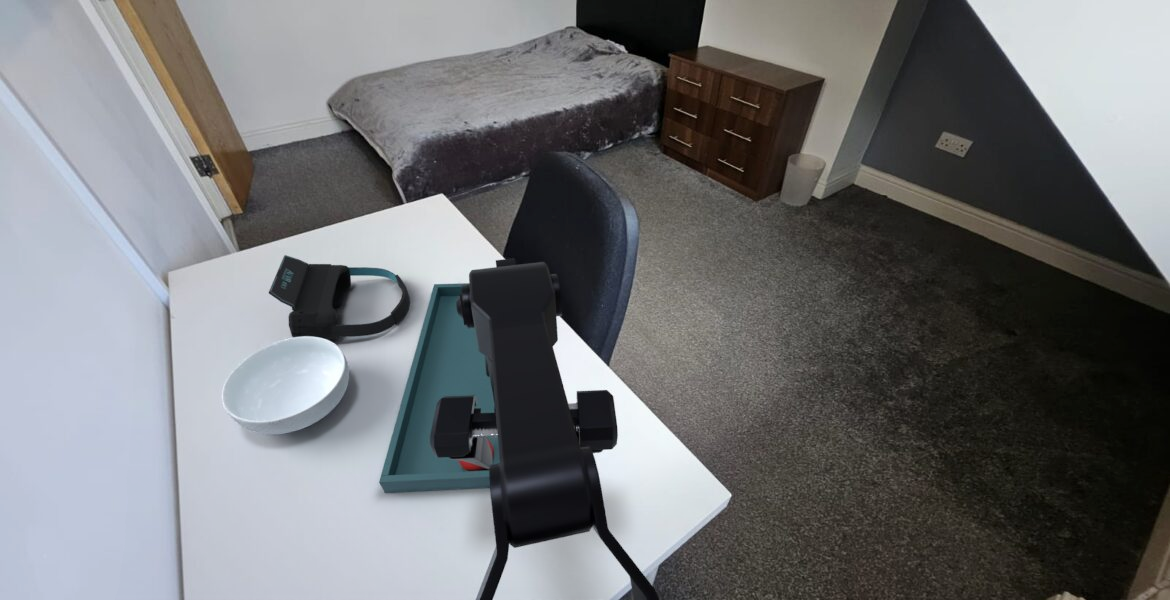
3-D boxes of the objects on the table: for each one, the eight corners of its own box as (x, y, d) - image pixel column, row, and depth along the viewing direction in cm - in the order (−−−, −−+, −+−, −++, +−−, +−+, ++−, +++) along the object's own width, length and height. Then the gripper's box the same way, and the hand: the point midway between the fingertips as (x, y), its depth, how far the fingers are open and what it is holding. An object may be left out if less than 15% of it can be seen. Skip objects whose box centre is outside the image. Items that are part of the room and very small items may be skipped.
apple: (494, 478, 66) (489, 456, 63) (458, 479, 66) (451, 458, 62) (496, 446, 70) (492, 424, 66) (462, 447, 70) (456, 425, 66)
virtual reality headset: (298, 284, 96) (288, 243, 90) (412, 284, 103) (409, 245, 96) (275, 349, 83) (261, 306, 76) (408, 344, 89) (404, 303, 83)
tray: (501, 487, 66) (498, 476, 64) (384, 493, 65) (378, 482, 63) (515, 293, 97) (514, 281, 95) (436, 295, 96) (434, 284, 94)
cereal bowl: (218, 446, 70) (193, 418, 65) (278, 361, 82) (260, 333, 78) (331, 452, 69) (313, 424, 65) (374, 366, 82) (362, 337, 77)
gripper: (610, 315, 51) (603, 402, 61) (435, 321, 50) (459, 408, 60) (623, 400, 43) (613, 484, 53) (413, 408, 41) (445, 493, 52)
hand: (530, 463), depth 55 cm, fingers open, 9 cm apart
